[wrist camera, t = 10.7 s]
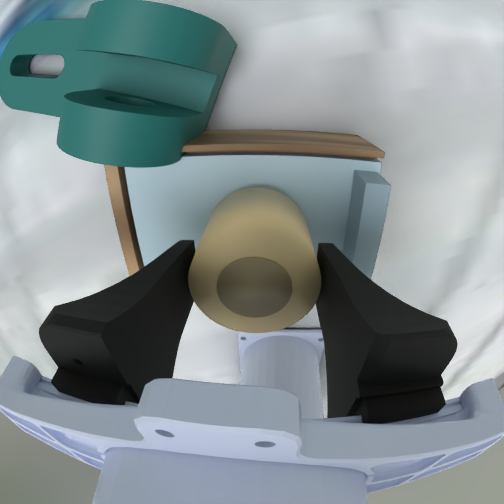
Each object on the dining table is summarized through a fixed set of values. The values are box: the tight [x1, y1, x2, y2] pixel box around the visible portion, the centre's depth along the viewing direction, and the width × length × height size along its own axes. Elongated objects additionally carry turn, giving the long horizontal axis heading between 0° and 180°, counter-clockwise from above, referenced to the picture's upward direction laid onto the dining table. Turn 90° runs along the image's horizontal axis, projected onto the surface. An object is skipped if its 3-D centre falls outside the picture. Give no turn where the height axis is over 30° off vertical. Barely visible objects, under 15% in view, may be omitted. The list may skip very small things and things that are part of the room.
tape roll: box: [188, 188, 321, 333], centre depth 12 cm, size 5×5×4 cm
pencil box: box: [104, 130, 385, 276], centre depth 17 cm, size 9×14×5 cm, turn 91°
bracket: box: [0, 0, 237, 168], centre depth 11 cm, size 18×7×8 cm, turn 70°
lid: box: [125, 152, 391, 280], centre depth 14 cm, size 8×13×3 cm, turn 91°
